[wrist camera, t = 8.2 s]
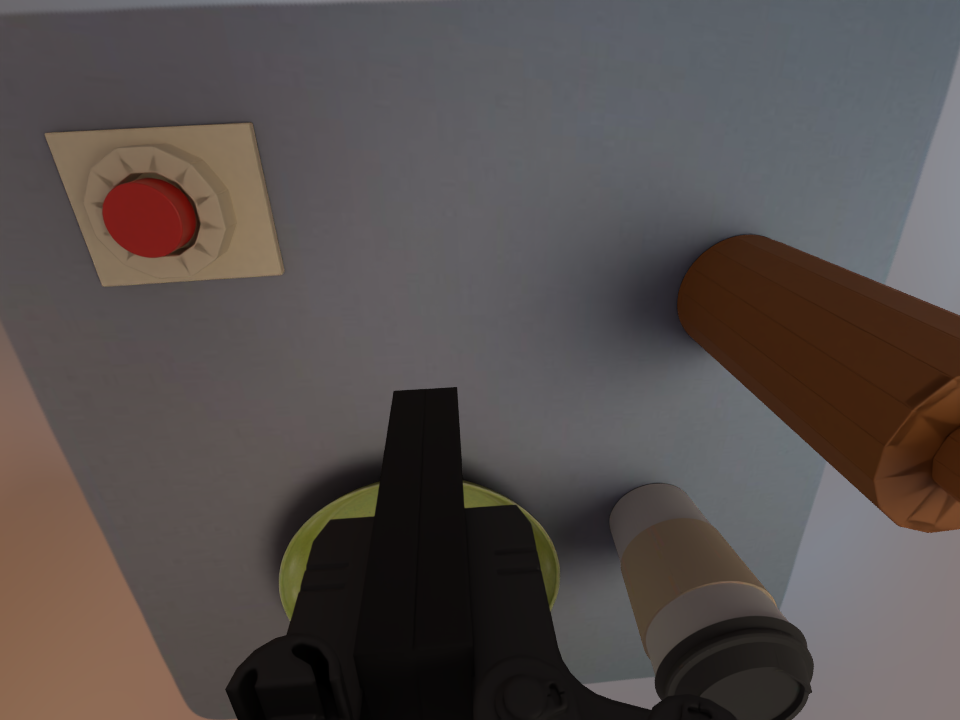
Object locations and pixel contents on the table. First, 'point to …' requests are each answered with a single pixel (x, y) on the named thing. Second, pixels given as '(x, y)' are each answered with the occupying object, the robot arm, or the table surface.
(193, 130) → the cream button plate
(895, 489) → the brown bottle
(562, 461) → the table surface
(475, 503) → the green plate
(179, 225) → the power button
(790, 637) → the coffee cup
